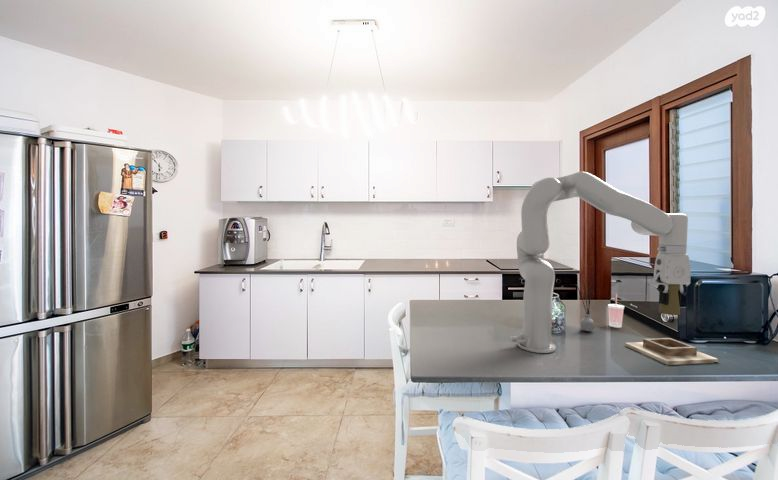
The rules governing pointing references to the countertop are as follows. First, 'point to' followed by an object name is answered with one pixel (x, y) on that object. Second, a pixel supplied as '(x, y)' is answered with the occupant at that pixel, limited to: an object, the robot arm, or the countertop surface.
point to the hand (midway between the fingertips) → (669, 303)
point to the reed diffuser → (587, 316)
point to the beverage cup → (615, 314)
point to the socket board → (670, 351)
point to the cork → (671, 301)
